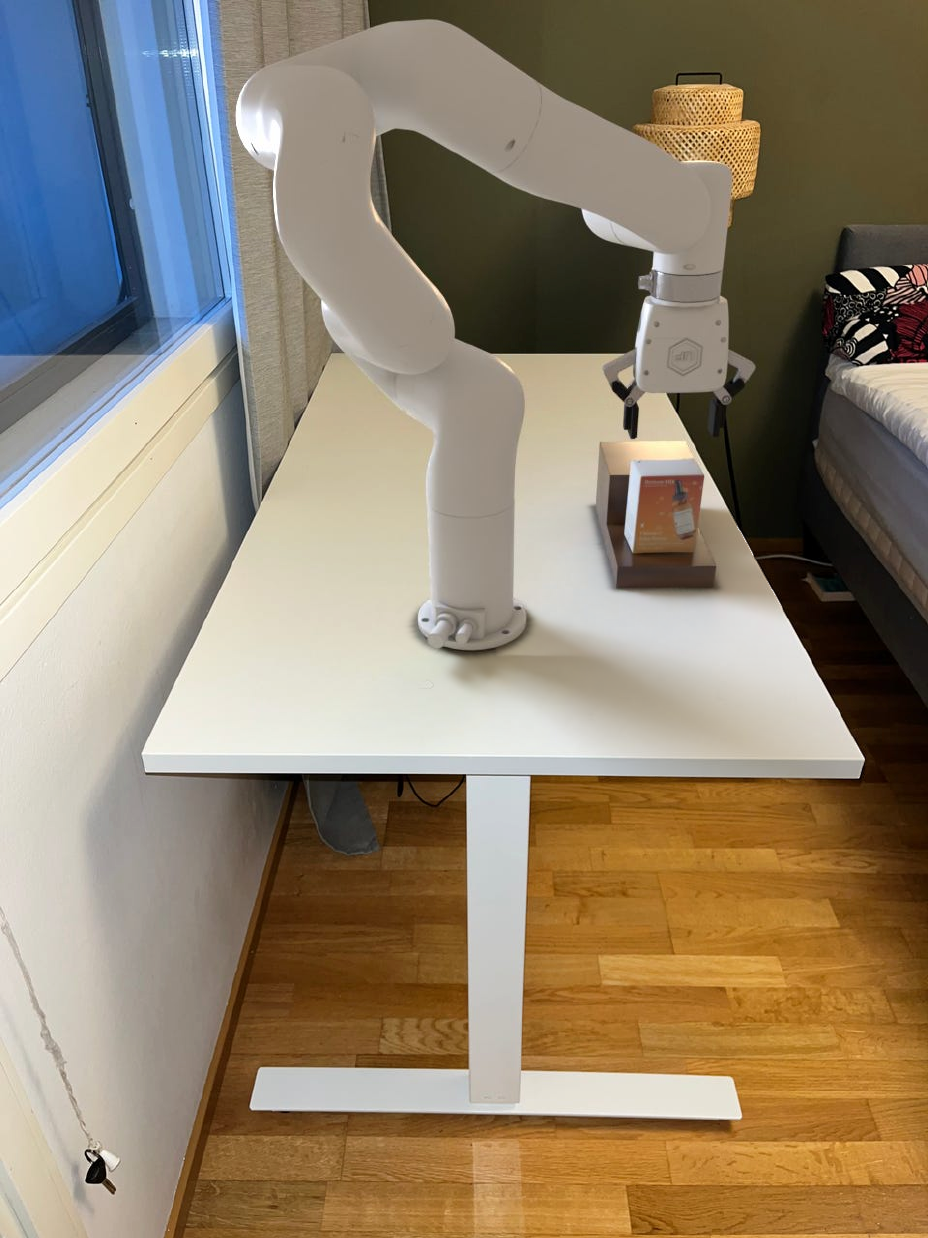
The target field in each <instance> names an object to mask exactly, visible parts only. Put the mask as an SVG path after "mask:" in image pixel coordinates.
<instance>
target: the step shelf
mask: <svg viewBox="0 0 928 1238" xmlns="http://www.w3.org/2000/svg"><path fill="white" fill-rule="evenodd" d="M686 458H693V459H694V461H695V462H696V464H697V465H698V466H699V464H698V462H697V460H696V458H695V456H694V454H693V452H692V450H691V448H690V446H689V444H688V443H687V440H655V441H650V440H649V441H646V440H645V441H644V440H643V441H642V440H641V441H599V447H598V460H597V461H598V463H597V478H596V479H597V480H596V495H595V510H596V513H597V517H598V522H599V525H600V530H601V534H602V538H603V541H604V544H605V550H606V554H607V558H608V563H609V565H610V569H611V573H612V577H613V581H614V585H615V589H644V588H645V589H646V588H647V589H650V588H653V589H655V588H657V589H659V588H667V589H668V588H669V589H670V588H671V589H672V588H714V585H715V581H716V580H715V579H716V572H717V565H716V562H715V560H714V557H713V556H712V553H711V550H710V549H709V547H708V545H707V542H706V540H705V537H704V536H703V534H702V533H703V532H702V531H701V529H700V527H699V526H698V528H697V536H696V543H695V550H694V552H653V553H633V552H632V550H631V548H630V546H629V543H628V541H627V539H626V537H625V534H624V532H625V521H626V511H627V501H628V490H629V477H630V467H631V460H675V459H686ZM699 468H700V469H701V467H700V466H699Z"/></svg>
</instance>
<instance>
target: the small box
mask: <svg viewBox="0 0 928 1238" xmlns="http://www.w3.org/2000/svg"><path fill="white" fill-rule="evenodd" d="M696 462H697V461H696ZM696 462H695V461H694V459H693V458H686V459H675V460H631V467H630V477H629V490H628V501H627V511H626V521H625V532H624V534H625V537H626V539H627V541H628V543H629V546H630V548H631V550H632V552H633V553H653V552H694V550H695V543H696V536H697V528H698V527H699V519H700V515H701V514H700V513H701V504H702V498H703V490H704V483H705V482H704V481H705V474H704V472H703V471H702V469H701V467H700V465H699V464H698V463H697V464H698V465H697V464H696ZM699 467H700V468H699Z"/></svg>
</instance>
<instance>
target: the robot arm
mask: <svg viewBox="0 0 928 1238" xmlns="http://www.w3.org/2000/svg"><path fill="white" fill-rule="evenodd" d="M235 121H236V128H237V131H238V135H239V138H240V141H241V142H242V144H243V147H244V148H245V149H246V150H247V152H248V153H249V155H250V156H251V157H252V158H253V159H254V160H255V161H256V162H257V163H259V164H260V165H261V166H263V167H265V168H267V169H268V170H271V171H273V172H274V173H273V187H272V188H273V209H274V218H275V219H274V220H275V225H276V229H277V233H278V237H279V241H280V243H281V246H282V248H283V250H284V252H285V254H286V256H287V257H288V259H289V262H291V264H292V266H293V267H294V269H295V270H296V271H297V273H298V274H299V275H300V277H301V278H302V279H303V280H304V281H305V283H306V284H307V285H308V286H309V287H310V288H311V289H312V290H313V292H315V294H316V295H317V296H318V297H319V299H320V301H321V305H320V306H321V315H322V321H323V322H324V323H323V324H324V326H325V328H326V330H327V332H328V334H329V335H330V337H331V339H332V340H333V341H334V343H335V344H336V345H337V346H338V347H339V349H340V350H341V351H342V352H343V353H344V354H345V355H346V356H347V358H349V359H350V360H351V361H352V363H354V365H356V367H357V368H358V369H359V370H360V371H361V372H362V373H363V374H364V375H365V376H366V377H367V378H368V379H369V380H370V381H371V382H372V383H373V384H374V385H375V386H376V388H377V389H379V390H380V391H381V392H382V393H383V394H384V396H386V397H387V398H388V400H390V401H391V402H392V403H393V404H394V405H395V406H396V407H398V409H399V410H401V411H402V412H403V413H405V414H406V415H407V416H409V417H410V418H412V419H414V420H415V421H417V422H418V423H420V424H422V425H423V426H425V427H426V428H427V429H428V430H430V431H431V432H432V434H433V445H432V450H431V454H430V457H429V459H428V462H427V463H428V464H427V468H426V475H425V500H426V513H427V538H428V561H429V562H428V563H429V566H428V567H429V589H430V591H429V593H430V598H429V599H428V600H426V601H425V602H424V603H423V604H422V605H421V607H420V608H419V610H418V613H417V624H418V629H419V630H420V632H421V634H422V635H423V636H424V637H426V639H427V643H428V645H429V646H430V647H432V648H433V649H437V650H438V649H441V648H443V647H445V648H449V649H453V650H459V651H460V650H461V651H483V650H490V649H494V648H495V649H496V648H497V647H502V646H504V645H506V644H508V643H511V642H512V641H514V640H515V639H517V638H518V637H519V636H520V635H521V634H522V633H523V632H524V631H525V628H526V626H527V611H526V608H525V606H524V605H523V604H522V603H521V602H520V601H519V600H518V599H516V598H515V597H514V583H515V582H514V575H515V572H514V571H515V565H514V564H515V509H516V508H515V502H516V501H515V491H516V490H515V486H516V485H515V484H516V464H517V463H516V462H517V453H518V447H519V441H520V437H521V432H522V428H523V424H524V419H525V412H526V398H525V392H524V389H523V385H522V383H521V381H520V379H519V377H518V375H517V374H516V373H515V372H514V370H513V369H512V368H511V367H510V366H509V365H508V364H507V363H505V362H504V361H503V360H502V359H500V358H499V357H497V356H496V355H494V354H492V353H490V352H487V351H485V350H483V349H481V348H480V347H479V348H478V347H477V346H474V345H472V344H469V343H466V342H464V341H462V340H459V339H457V338H455V337H456V327H455V321H454V317H453V313H452V310H451V308H450V306H449V304H448V302H447V301H446V299H445V297H444V296H443V294H442V293H441V292H440V290H439V289H438V288H437V286H436V285H435V284H434V283H433V282H432V281H431V280H430V279H429V277H427V275H426V274H424V272H423V271H422V270H421V269H420V268H419V266H418V265H417V263H416V262H415V261H414V260H413V259H412V258H411V257H410V255H409V254H408V253H407V252H406V251H405V250H404V248H403V247H402V246H401V245H400V244H399V242H398V241H397V240H396V239H395V237H394V236H393V235H392V233H391V231H390V230H389V229H388V227H387V226H386V224H385V223H384V221H383V220H382V219H381V217H380V216H379V214H378V212H377V210H376V208H375V205H374V202H373V197H372V192H371V177H372V176H371V175H372V167H373V166H372V165H373V160H374V155H375V150H376V144H377V143H376V142H377V137H378V136H380V135H382V134H385V133H387V132H389V131H391V130H392V131H393V130H395V129H398V130H406V131H407V130H408V131H414V132H416V133H418V134H421V135H423V136H425V137H427V138H428V139H430V140H432V141H433V142H435V143H437V144H439V145H441V146H442V147H444V148H446V149H447V150H448V151H451V152H452V153H455V154H457V155H459V156H461V157H462V158H464V159H466V160H467V161H468V162H469V161H470V162H471V163H472V164H474V165H476V166H478V167H479V168H481V169H483V170H485V171H486V172H487V173H489V174H490V175H492V176H495V177H496V178H498V179H499V180H501V181H502V182H504V183H506V184H507V185H509V186H511V187H512V188H516V189H518V190H520V191H523V192H525V193H528V194H530V195H532V196H536V197H539V198H541V199H545V200H547V201H548V200H550V201H553V202H557V203H561V204H565V205H569V206H571V207H575V208H578V209H581V213H582V217H583V220H584V222H585V224H586V226H587V227H588V228H589V229H590V231H591V232H592V233H593V234H595V235H596V236H597V237H599V238H601V239H602V240H605V241H608V242H610V243H614V244H619V245H623V246H626V247H633V248H637V249H642V250H646V251H650V252H653V256H652V257H653V258H652V267H651V268H650V271H649V273H648V274H645V275H640V276H638V281H637V287H638V290H645V291H648V292H649V293H650V295H647V296H646V297H645V298H644V300H643V304H642V306H641V307H642V308H641V311H640V315H639V316H640V317H639V321H638V325H637V331H636V337H635V345H634V349H632V350H629V351H628V352H626V353H624V354H623V355H621V356H618V357H616V358H615V359H612V360H610V361H609V362H607V363H605V364H604V365H603V366H602V371H603V374H604V376H605V378H606V380H607V382H608V384H609V387H610V389H611V391H612V392H613V393H614V394H615V395H616V397H618V398H619V399H620V400H621V401H622V402H623V403H624V405H623V421H622V426H623V427H622V428H623V430H624V431H627V433H628V436H629V438H630V440H636V439H637V438H638V430H639V429H638V427H639V418H640V417H639V415H640V407H639V405H638V401H639V400H640V399H641V398H642V397H643V395H644V394H645V393H649V394H679V393H680V394H683V393H687V394H689V393H709V392H710V393H711V392H712V393H713V396H712V398H710V403H709V410H708V411H709V412H708V418H707V419H708V420H707V430H708V432H709V433H710V435H711V437H713V438H719V437H720V431H721V429H724V428H725V424H726V416H727V415H726V414H727V407H728V405H729V404H730V403H731V402H732V399H733V398H734V397H735V396H737V395H738V394H739V393H740V392H741V391H742V390H743V389H744V388H745V386H746V383H747V382H748V381H749V380H750V379H751V376H752V375H753V373H754V372H755V370H756V365H755V363H754V362H753V361H752V360H750V359H748V358H746V357H745V356H743V355H741V354H739V353H737V352H735V351H733V350H731V349H729V339H730V338H729V336H730V335H729V334H730V333H729V332H730V331H729V329H730V325H729V324H730V322H729V321H730V320H729V319H730V318H729V306H728V305H729V304H728V300H727V299H726V297H724V296H722V295H721V291H722V282H723V275H724V274H723V273H724V266H725V265H724V263H725V254H726V246H727V235H728V227H729V219H730V208H731V199H732V190H733V180H734V178H733V172H732V169H731V168H730V166H728V165H727V164H725V163H723V162H721V161H714V160H681V161H680V160H679V159H677V158H675V157H674V156H673V155H672V154H670V153H669V152H667V151H665V150H664V149H662V148H661V147H659V146H658V145H657V144H654V143H653V142H651V141H649V140H647V139H646V138H644V137H642V136H640V135H638V134H636V133H634V132H632V131H630V130H628V129H626V128H624V127H622V126H619V125H618V124H616V123H613V122H611V121H609V120H607V119H605V118H603V117H602V116H600V115H597V114H596V113H594V112H592V111H590V110H588V109H587V108H584V107H583V106H580V105H578V104H577V103H574V102H572V101H570V100H567V99H565V98H564V97H561V96H560V95H559V94H557V93H555V92H553V91H552V90H550V89H549V88H547V87H546V86H544V85H543V84H542V83H540V82H538V81H537V80H536V79H534V78H533V77H531V76H529V75H528V74H527V73H525V72H524V71H523V70H521V69H520V68H518V67H517V66H515V65H514V64H512V63H511V62H509V61H508V60H506V58H504V57H502V56H501V55H500V54H498V53H497V52H495V51H494V50H492V49H490V48H489V47H488V46H486V45H485V44H484V43H482V42H480V41H479V40H478V39H477V38H475V37H474V36H472V35H471V34H469V33H467V32H466V31H464V30H463V29H461V28H459V27H458V26H456V25H453V24H452V23H449V22H445V21H443V20H440V19H431V18H430V19H429V18H428V19H415V20H400V21H399V20H398V21H389V22H385V23H381V24H378V25H375V26H372V27H369V28H367V29H364V30H362V31H359V32H356V33H354V34H352V35H348V36H346V37H344V38H342V39H339V40H336V41H333V42H331V43H328V44H325V45H322V46H319V47H316V48H314V49H311V50H307V51H305V52H302V53H299V54H297V55H294V56H290V57H288V58H285V59H281V60H280V61H277V62H273V63H271V64H269V65H265V66H263V67H262V68H261V69H259V70H257V71H256V72H255V73H253V74H252V75H251V76H250V77H249V79H248V80H247V81H246V82H245V84H244V85H243V88H242V89H241V90H240V92H239V95H238V99H237V102H236V109H235ZM728 365H731V366H732V367H734V368H736V369H737V371H736V373H735V375H734V376H733V377H732V378H731V379H730V380H729V381H727V382H726V379H727V373H728ZM630 367H632V375H633V378H634V379H632V381H631V382H630V383H629V384H628V385H627V386H626V385H625V384H624V383H623V382H622V381H621V380H620V378H619V373H620V372H623V371H624V370H626V369H628V368H630Z"/></svg>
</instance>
